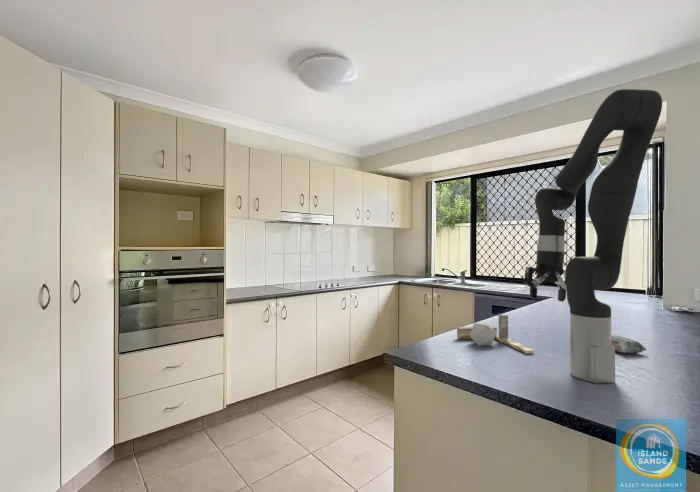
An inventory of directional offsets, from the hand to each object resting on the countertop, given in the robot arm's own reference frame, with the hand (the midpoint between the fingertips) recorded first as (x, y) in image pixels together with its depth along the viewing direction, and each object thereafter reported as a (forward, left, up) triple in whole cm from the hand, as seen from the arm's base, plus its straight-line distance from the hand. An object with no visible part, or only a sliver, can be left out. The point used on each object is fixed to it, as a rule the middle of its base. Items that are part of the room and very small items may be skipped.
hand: (547, 300), depth 106 cm
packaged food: (+4, -30, -19) cm, 36 cm away
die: (+18, +12, -19) cm, 29 cm away
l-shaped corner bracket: (+16, +10, -19) cm, 26 cm away
